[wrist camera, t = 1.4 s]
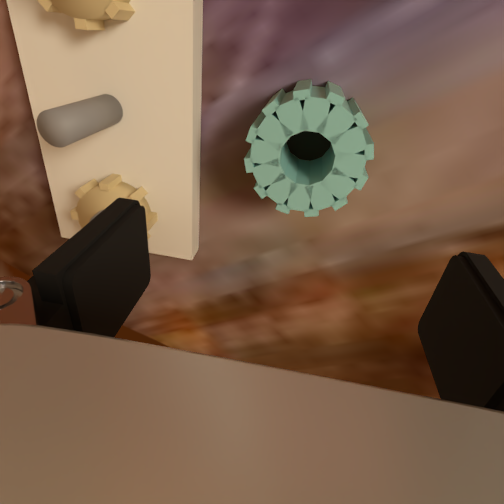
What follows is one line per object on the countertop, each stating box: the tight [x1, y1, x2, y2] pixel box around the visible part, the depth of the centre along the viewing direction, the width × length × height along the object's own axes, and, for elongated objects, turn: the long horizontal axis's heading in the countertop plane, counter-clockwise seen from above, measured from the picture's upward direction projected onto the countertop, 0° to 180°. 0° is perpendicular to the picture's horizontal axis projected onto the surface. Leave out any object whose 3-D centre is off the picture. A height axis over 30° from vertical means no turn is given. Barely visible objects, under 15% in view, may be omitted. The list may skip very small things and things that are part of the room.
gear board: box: [6, 0, 203, 260], centre depth 22 cm, size 12×23×8 cm, turn 174°
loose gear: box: [244, 79, 374, 217], centre depth 23 cm, size 8×8×5 cm
